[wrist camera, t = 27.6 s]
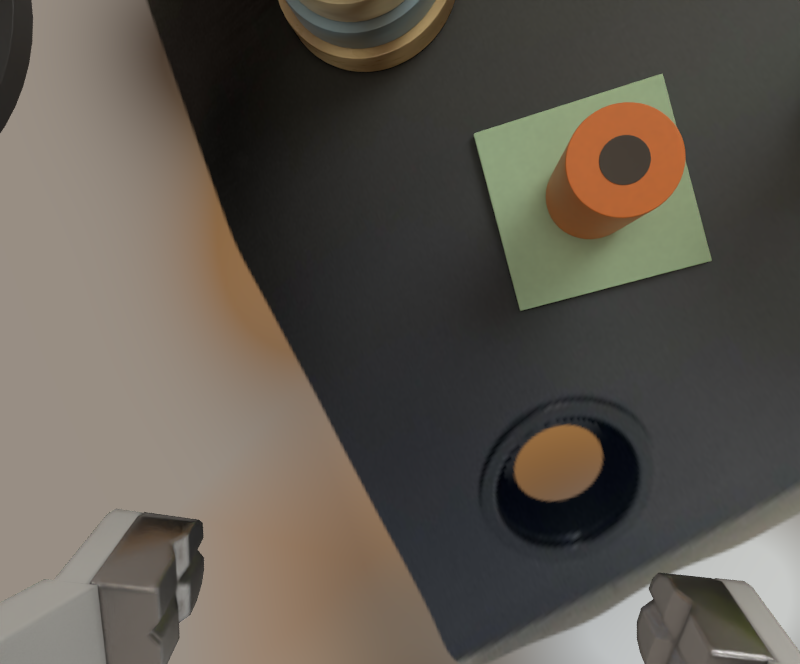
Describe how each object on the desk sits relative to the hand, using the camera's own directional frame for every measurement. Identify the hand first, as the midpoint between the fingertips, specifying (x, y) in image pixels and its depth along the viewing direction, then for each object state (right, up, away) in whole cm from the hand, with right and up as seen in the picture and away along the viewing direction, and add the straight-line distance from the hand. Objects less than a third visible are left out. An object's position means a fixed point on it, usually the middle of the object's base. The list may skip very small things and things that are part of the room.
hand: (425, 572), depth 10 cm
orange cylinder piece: (+12, +13, +24) cm, 30 cm away
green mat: (+12, +13, +25) cm, 30 cm away
